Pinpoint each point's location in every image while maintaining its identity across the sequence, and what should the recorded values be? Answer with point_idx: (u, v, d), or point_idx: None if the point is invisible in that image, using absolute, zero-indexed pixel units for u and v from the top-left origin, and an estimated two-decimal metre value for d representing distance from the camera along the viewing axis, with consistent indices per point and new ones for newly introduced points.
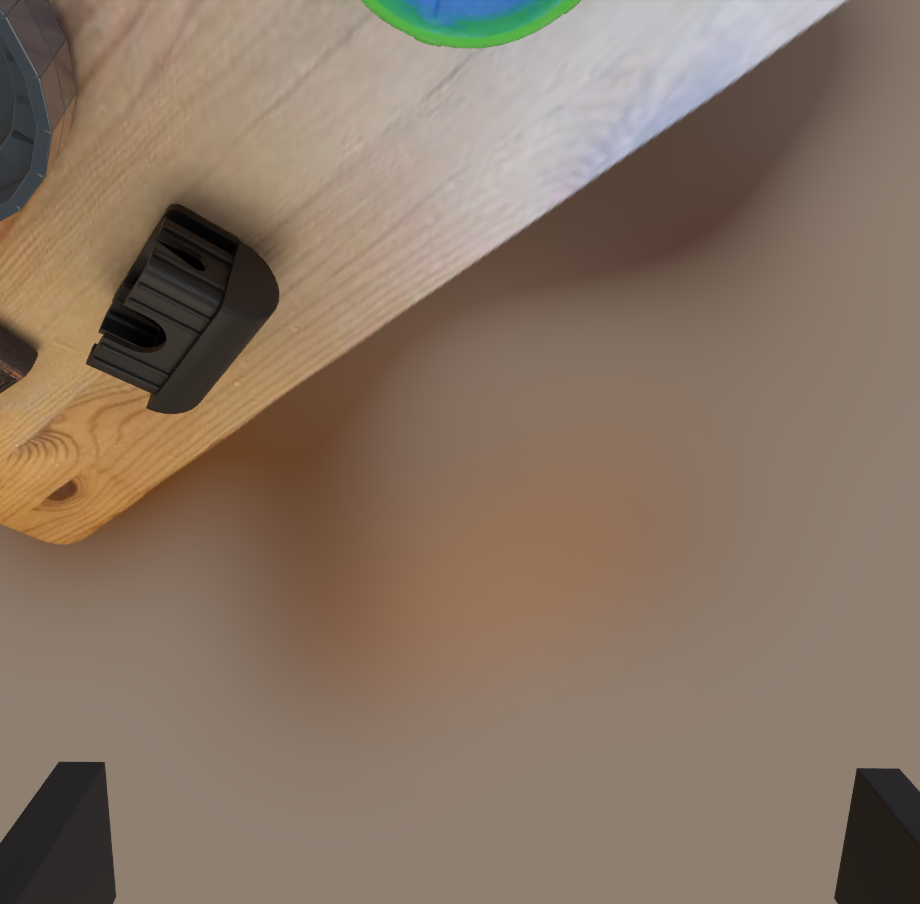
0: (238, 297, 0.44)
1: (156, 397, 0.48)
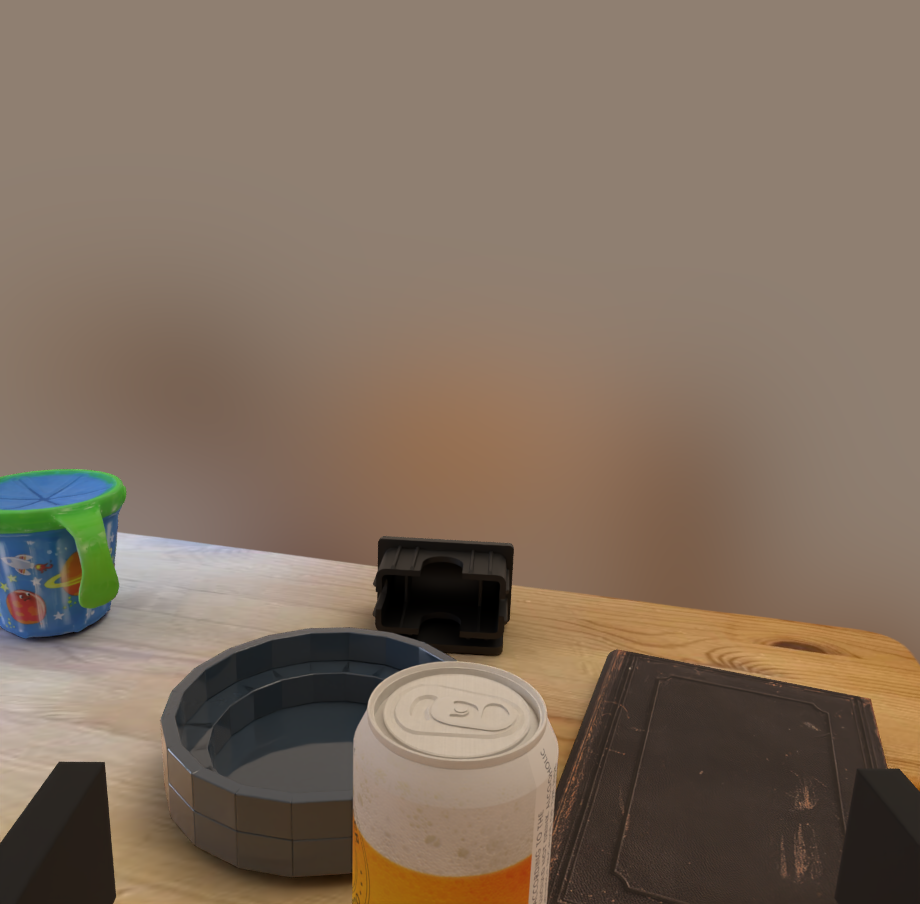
0: None
1: (494, 545, 0.60)
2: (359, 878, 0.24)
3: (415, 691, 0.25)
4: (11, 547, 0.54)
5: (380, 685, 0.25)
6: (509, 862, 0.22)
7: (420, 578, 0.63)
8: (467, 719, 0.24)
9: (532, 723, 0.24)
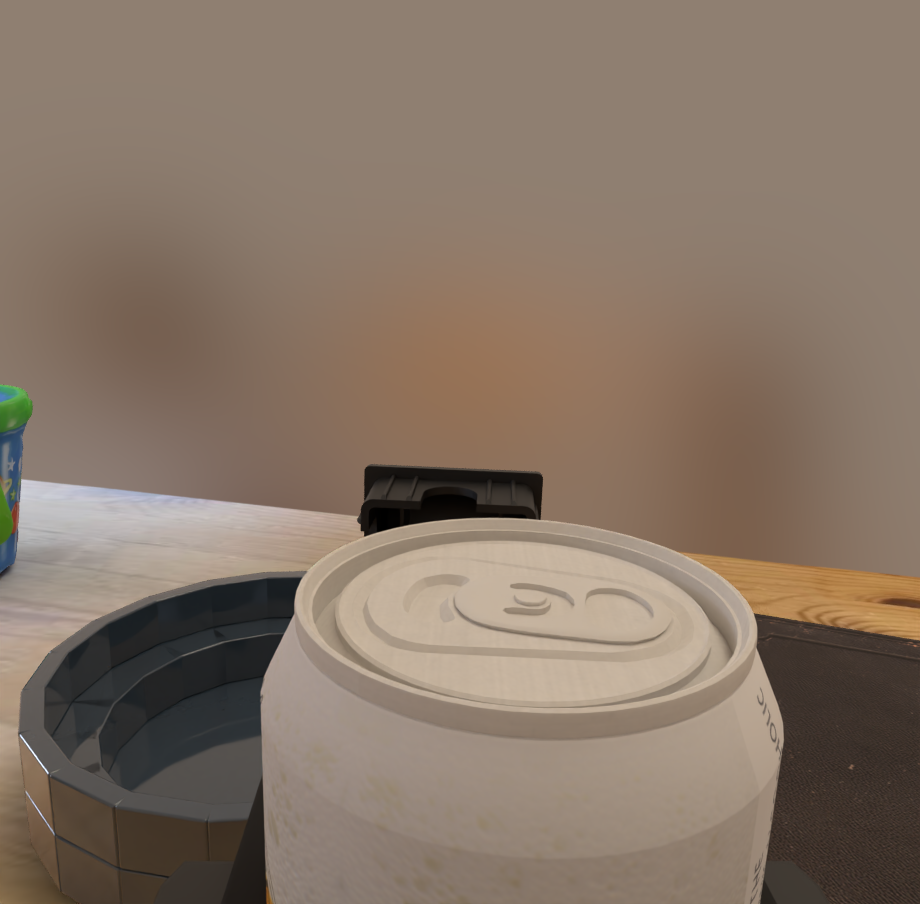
0: None
1: (516, 472, 0.45)
2: None
3: (417, 569, 0.11)
4: None
5: (334, 553, 0.11)
6: None
7: (420, 521, 0.48)
8: (551, 619, 0.09)
9: (711, 630, 0.10)
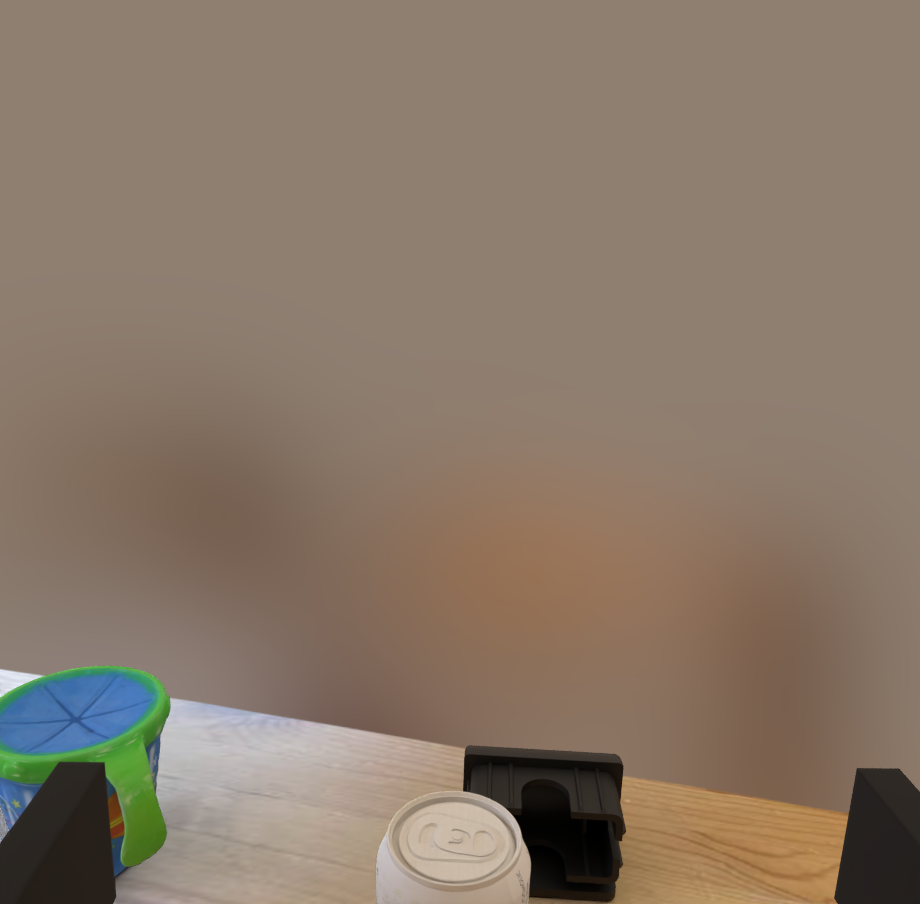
0: None
1: (600, 761, 0.51)
2: None
3: (422, 819, 0.33)
4: None
5: (396, 815, 0.33)
6: None
7: None
8: (462, 846, 0.31)
9: (511, 847, 0.32)
